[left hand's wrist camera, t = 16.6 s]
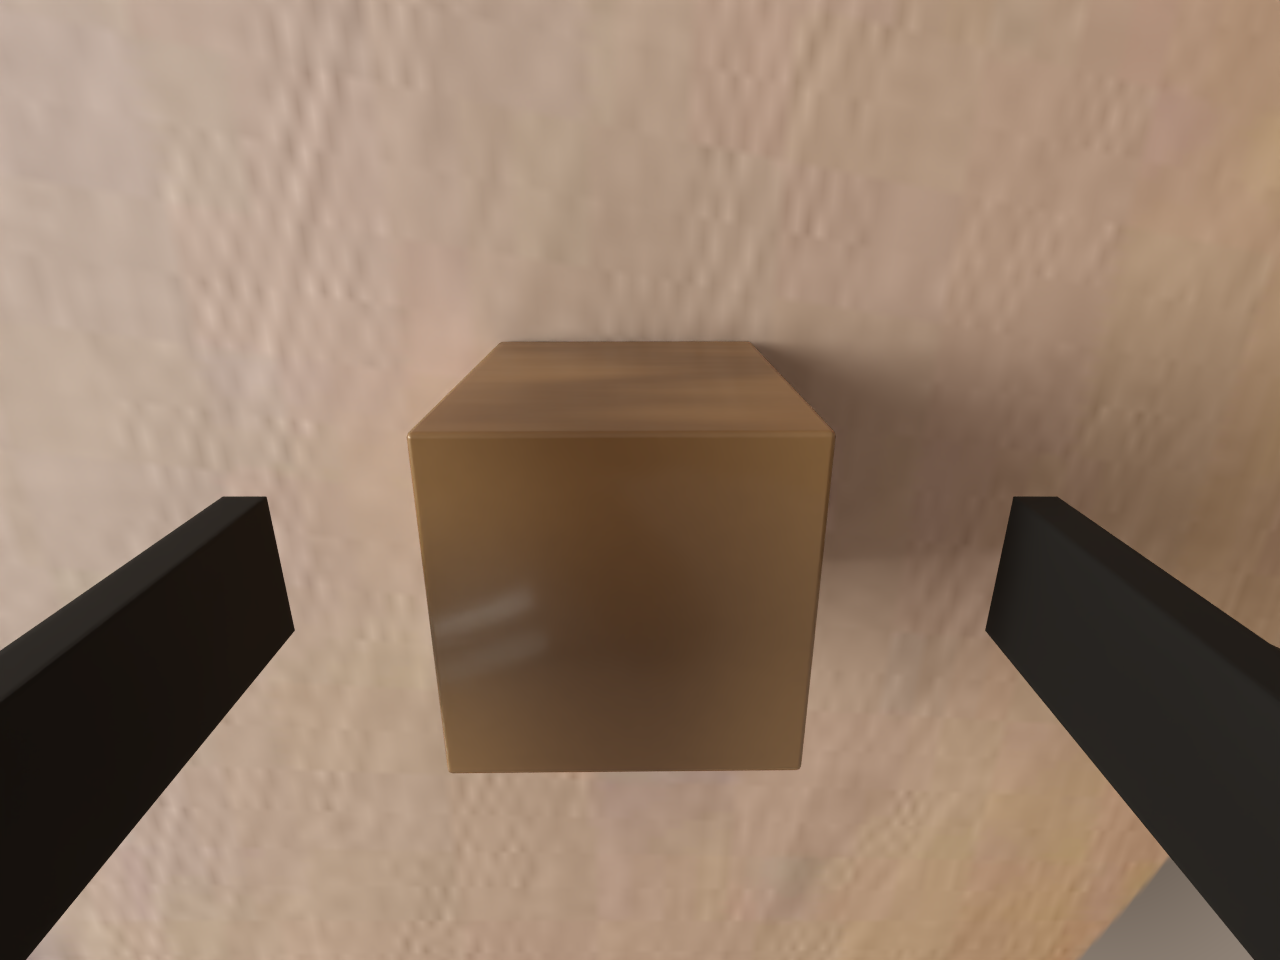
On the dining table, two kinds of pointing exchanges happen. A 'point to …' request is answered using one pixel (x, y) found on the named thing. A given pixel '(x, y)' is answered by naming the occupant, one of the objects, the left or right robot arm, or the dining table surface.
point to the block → (622, 557)
